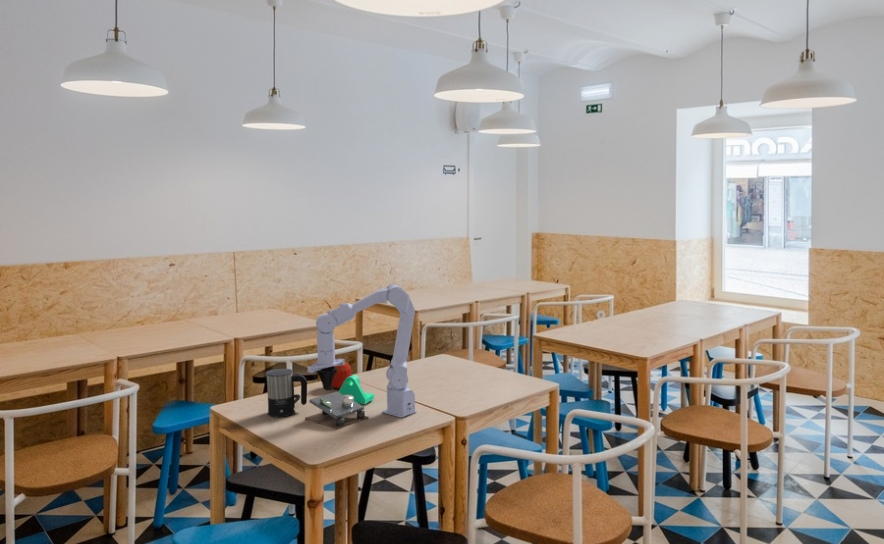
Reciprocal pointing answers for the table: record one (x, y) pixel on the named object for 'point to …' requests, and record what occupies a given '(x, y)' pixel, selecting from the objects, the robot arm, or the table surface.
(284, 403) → the milk frother
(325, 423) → the stand base
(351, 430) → the table surface
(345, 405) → the level plate
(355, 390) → the camera mount
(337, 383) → the apple
